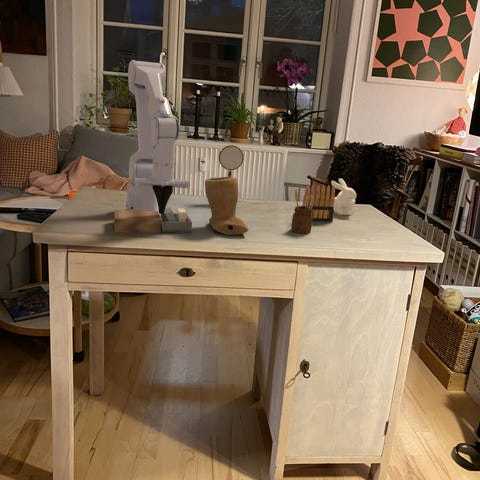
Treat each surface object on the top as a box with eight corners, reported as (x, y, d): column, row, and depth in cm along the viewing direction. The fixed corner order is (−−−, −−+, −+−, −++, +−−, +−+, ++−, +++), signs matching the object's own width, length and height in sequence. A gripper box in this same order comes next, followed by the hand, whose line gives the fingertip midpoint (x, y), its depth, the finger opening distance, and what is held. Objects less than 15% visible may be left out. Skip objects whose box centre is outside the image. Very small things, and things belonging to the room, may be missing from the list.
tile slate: (165, 213, 136) (171, 210, 137) (163, 209, 141) (170, 206, 141) (171, 228, 138) (178, 225, 138) (170, 223, 142) (176, 220, 142)
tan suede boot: (200, 221, 150) (203, 171, 146) (239, 223, 152) (244, 173, 148) (205, 235, 136) (208, 180, 132) (248, 237, 138) (253, 183, 134)
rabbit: (354, 217, 173) (360, 183, 170) (327, 214, 174) (331, 179, 171) (352, 210, 184) (357, 177, 181) (326, 207, 186) (331, 174, 182)
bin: (161, 232, 135) (162, 222, 134) (158, 222, 144) (158, 212, 144) (191, 233, 137) (192, 222, 136) (186, 223, 146) (186, 213, 146)
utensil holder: (305, 235, 146) (311, 194, 142) (286, 230, 149) (291, 190, 145) (314, 231, 150) (319, 191, 147) (295, 227, 153) (299, 188, 150)
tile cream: (179, 212, 137) (186, 212, 138) (177, 208, 142) (184, 208, 142) (178, 228, 139) (185, 228, 139) (176, 223, 143) (183, 223, 143)
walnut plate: (114, 232, 132) (114, 219, 131) (114, 222, 141) (114, 209, 140) (160, 232, 135) (161, 220, 134) (157, 222, 144) (157, 211, 143)
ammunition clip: (330, 220, 165) (335, 184, 162) (332, 222, 164) (337, 185, 160) (299, 219, 163) (304, 183, 159) (301, 221, 161) (306, 184, 158)
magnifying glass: (239, 202, 181) (244, 145, 175) (239, 203, 179) (244, 146, 173) (215, 200, 179) (219, 144, 174) (215, 201, 178) (219, 144, 172)
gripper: (136, 164, 129) (135, 216, 133) (192, 167, 133) (189, 217, 137) (135, 160, 136) (133, 209, 140) (188, 163, 139) (186, 210, 143)
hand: (161, 213), depth 139 cm, fingers closed
